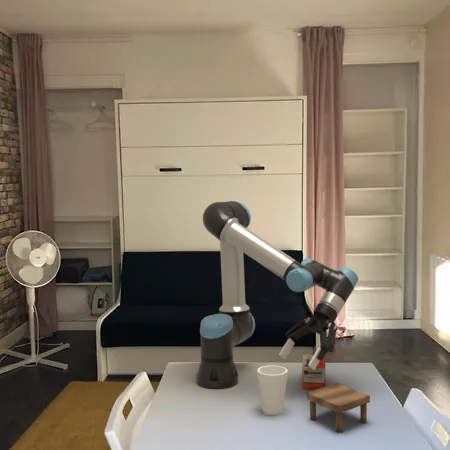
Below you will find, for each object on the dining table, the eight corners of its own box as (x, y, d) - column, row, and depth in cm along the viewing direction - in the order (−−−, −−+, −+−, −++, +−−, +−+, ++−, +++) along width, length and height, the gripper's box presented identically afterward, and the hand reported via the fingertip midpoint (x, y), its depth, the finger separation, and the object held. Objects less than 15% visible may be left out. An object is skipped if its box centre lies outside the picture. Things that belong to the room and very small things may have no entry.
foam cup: (286, 418, 163) (286, 376, 162) (256, 416, 165) (255, 374, 164) (289, 405, 172) (288, 366, 172) (260, 404, 174) (259, 364, 173)
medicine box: (303, 374, 201) (303, 353, 201) (325, 375, 200) (325, 354, 199) (302, 389, 186) (301, 367, 186) (326, 391, 185) (325, 368, 185)
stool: (307, 418, 163) (306, 392, 162) (337, 407, 170) (336, 383, 170) (339, 434, 152) (339, 406, 152) (369, 422, 160) (369, 395, 159)
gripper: (363, 322, 172) (331, 379, 164) (307, 309, 192) (276, 359, 184) (352, 308, 168) (318, 365, 161) (296, 296, 188) (264, 346, 181)
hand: (296, 362), depth 172 cm, fingers open, 13 cm apart
